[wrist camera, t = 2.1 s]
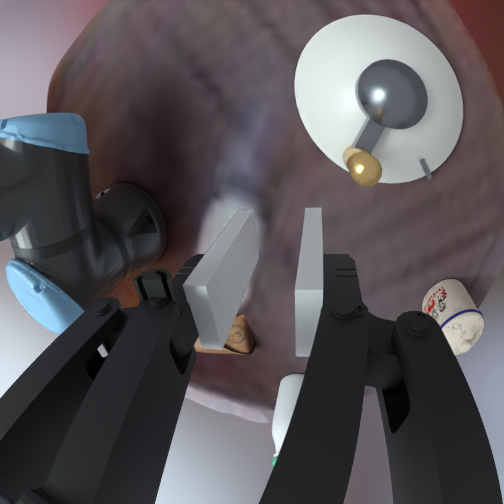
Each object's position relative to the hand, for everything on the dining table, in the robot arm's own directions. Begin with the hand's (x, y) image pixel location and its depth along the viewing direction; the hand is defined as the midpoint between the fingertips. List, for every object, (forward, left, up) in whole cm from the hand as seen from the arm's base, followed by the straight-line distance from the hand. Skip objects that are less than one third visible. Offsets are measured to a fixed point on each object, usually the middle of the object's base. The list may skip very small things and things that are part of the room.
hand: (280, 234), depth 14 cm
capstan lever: (+5, +10, -21) cm, 23 cm away
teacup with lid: (+32, -8, -23) cm, 40 cm away
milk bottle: (+21, -39, -23) cm, 50 cm away
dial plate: (+5, +13, -23) cm, 26 cm away
